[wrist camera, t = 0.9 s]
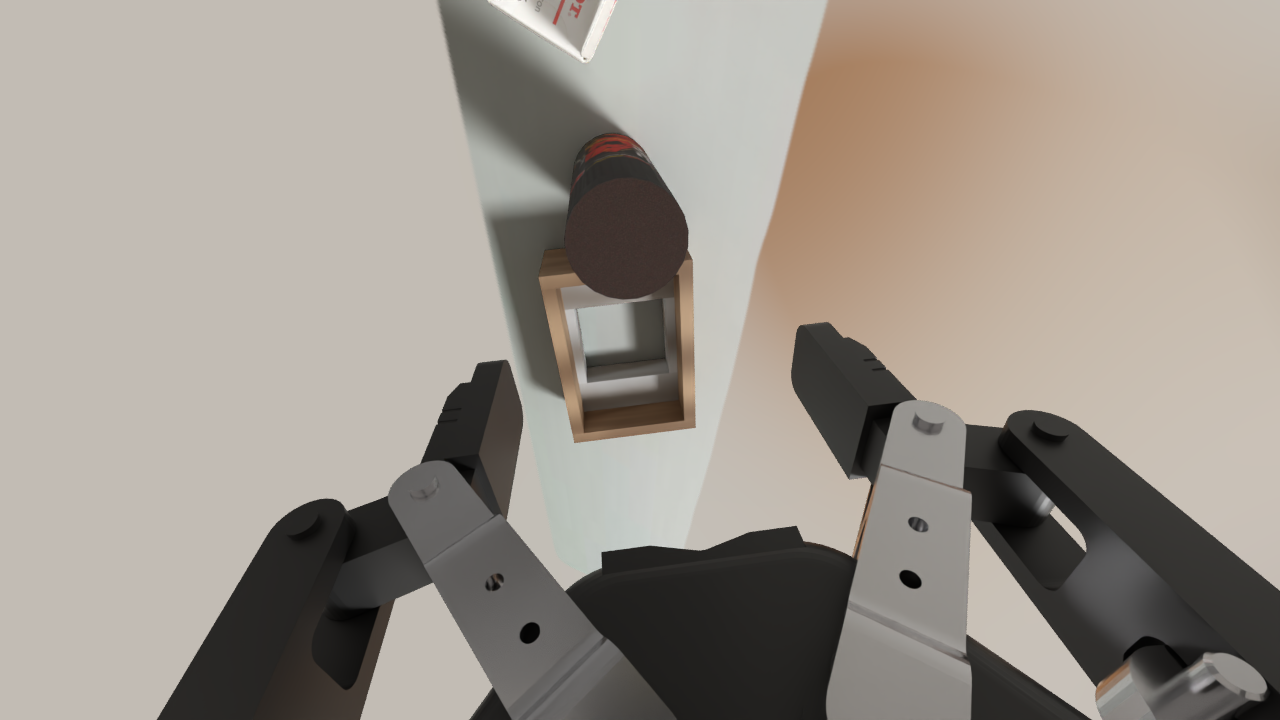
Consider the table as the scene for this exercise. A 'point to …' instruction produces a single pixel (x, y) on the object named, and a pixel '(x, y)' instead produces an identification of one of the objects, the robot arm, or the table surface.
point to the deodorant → (622, 221)
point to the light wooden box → (627, 390)
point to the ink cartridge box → (562, 22)
